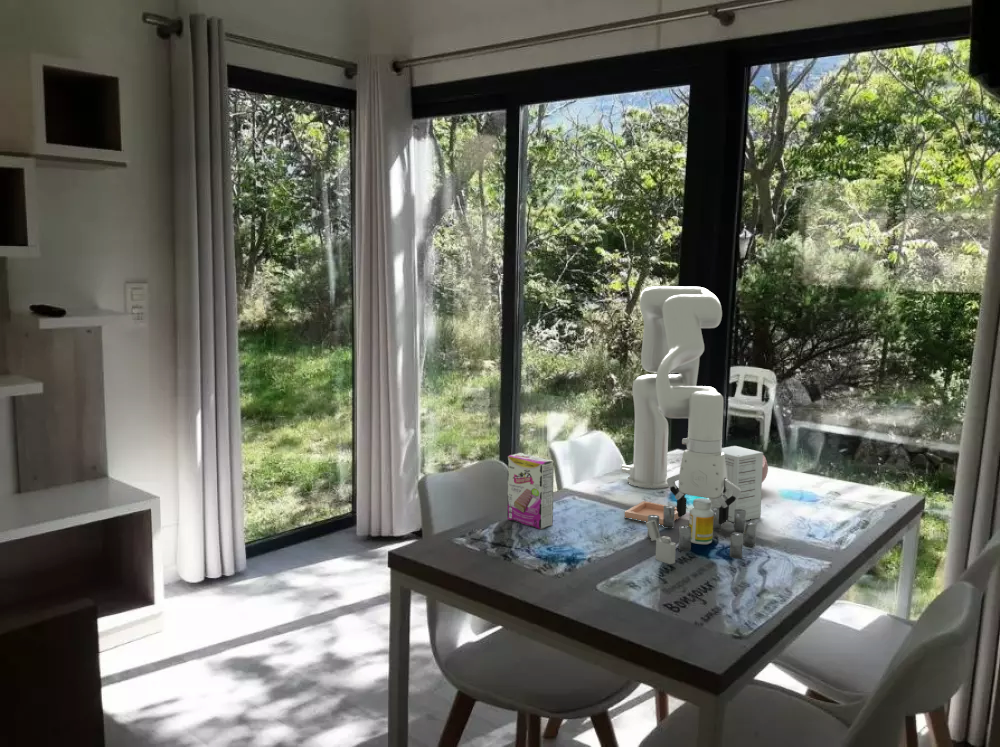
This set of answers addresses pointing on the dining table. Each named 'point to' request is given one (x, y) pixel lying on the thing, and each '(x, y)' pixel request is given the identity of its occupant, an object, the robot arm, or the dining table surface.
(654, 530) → the lighter
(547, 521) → the candy bar box
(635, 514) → the dish
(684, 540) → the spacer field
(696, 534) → the supplement bottle
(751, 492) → the supplement box
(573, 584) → the dining table surface
